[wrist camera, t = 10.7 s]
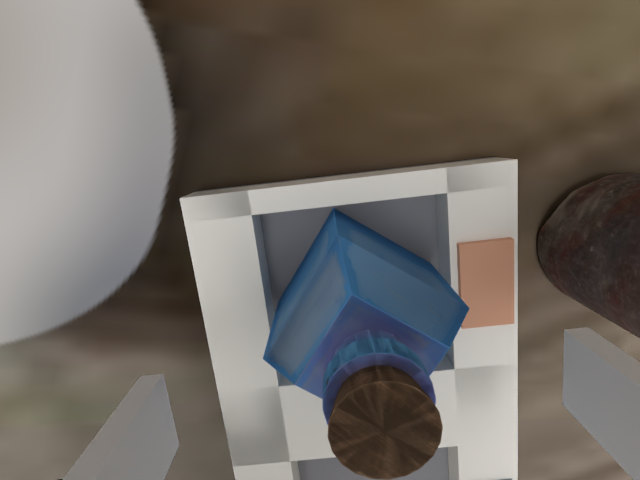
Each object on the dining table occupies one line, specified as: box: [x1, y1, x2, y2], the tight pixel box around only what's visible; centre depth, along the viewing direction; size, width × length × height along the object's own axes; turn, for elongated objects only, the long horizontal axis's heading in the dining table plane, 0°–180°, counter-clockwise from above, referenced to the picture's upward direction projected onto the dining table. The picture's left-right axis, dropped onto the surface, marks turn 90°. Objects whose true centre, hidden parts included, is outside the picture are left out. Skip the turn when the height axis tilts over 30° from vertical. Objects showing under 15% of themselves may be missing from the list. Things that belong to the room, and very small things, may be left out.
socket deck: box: [180, 157, 518, 480], centre depth 24 cm, size 26×16×3 cm, turn 7°
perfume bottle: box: [263, 208, 470, 480], centre depth 17 cm, size 6×6×12 cm
